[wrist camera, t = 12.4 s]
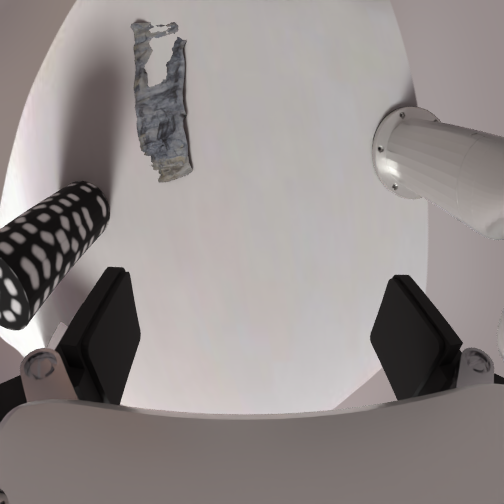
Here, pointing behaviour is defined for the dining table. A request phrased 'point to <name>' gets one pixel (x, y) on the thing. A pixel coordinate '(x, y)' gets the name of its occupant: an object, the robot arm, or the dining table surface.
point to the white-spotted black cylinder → (46, 248)
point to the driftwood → (161, 106)
